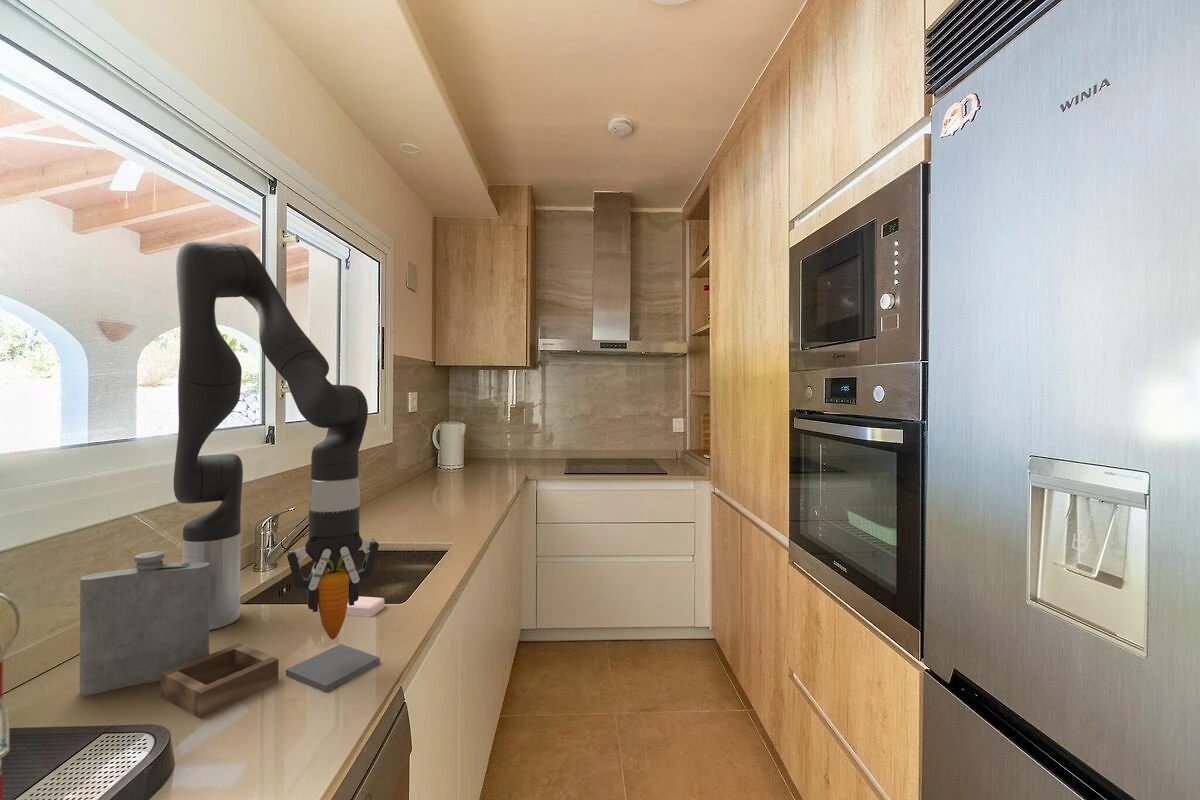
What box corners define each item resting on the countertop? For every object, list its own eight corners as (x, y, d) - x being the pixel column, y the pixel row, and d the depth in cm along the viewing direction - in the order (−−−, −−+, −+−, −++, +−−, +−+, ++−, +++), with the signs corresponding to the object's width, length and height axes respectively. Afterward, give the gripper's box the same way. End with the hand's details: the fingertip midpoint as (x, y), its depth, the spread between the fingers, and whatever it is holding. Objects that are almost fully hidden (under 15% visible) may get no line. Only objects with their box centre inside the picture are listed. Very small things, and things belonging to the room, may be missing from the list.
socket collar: (160, 696, 79) (160, 673, 79) (238, 663, 89) (239, 643, 89) (200, 717, 74) (200, 693, 74) (278, 680, 84) (278, 658, 84)
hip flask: (75, 697, 78) (76, 564, 78) (87, 684, 82) (87, 556, 82) (206, 673, 86) (207, 551, 85) (211, 662, 89) (212, 544, 89)
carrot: (354, 638, 88) (355, 549, 87) (323, 649, 84) (324, 555, 84) (342, 629, 91) (343, 543, 91) (311, 639, 87) (312, 549, 87)
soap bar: (371, 618, 108) (371, 607, 108) (330, 615, 109) (330, 604, 109) (385, 608, 113) (385, 597, 113) (346, 605, 115) (346, 594, 115)
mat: (285, 675, 85) (285, 669, 85) (340, 649, 94) (340, 643, 94) (325, 692, 81) (325, 685, 81) (379, 663, 90) (379, 657, 90)
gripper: (285, 514, 80) (284, 625, 80) (385, 504, 88) (383, 606, 88) (283, 505, 86) (282, 608, 87) (376, 497, 94) (375, 591, 94)
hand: (333, 606), depth 87 cm, fingers closed on carrot, 4 cm apart
